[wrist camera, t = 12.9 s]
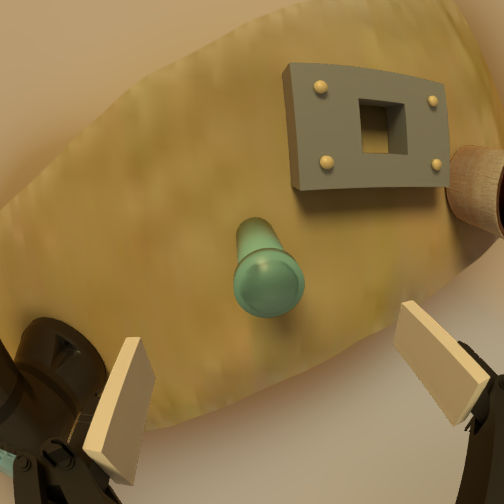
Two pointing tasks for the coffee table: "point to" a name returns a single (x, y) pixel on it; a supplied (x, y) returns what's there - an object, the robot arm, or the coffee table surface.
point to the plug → (265, 272)
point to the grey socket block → (349, 128)
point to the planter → (478, 188)
